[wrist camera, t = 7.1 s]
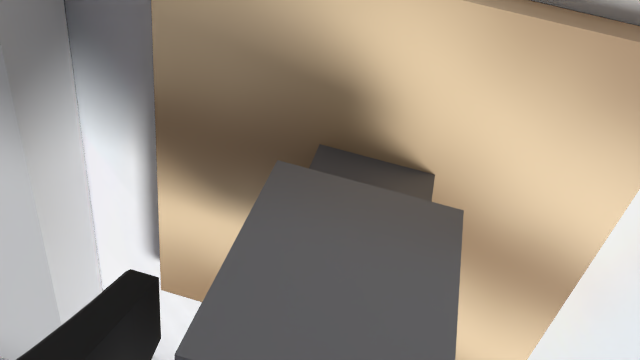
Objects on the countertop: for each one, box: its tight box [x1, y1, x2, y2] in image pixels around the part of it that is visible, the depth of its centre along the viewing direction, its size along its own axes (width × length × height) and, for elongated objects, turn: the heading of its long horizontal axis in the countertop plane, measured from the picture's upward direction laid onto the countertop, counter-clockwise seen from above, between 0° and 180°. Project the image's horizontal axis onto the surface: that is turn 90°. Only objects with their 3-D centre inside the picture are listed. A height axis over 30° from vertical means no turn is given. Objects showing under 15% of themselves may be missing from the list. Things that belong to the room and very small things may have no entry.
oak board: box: [151, 0, 640, 360], centre depth 16 cm, size 12×12×1 cm
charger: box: [175, 144, 464, 360], centre depth 12 cm, size 5×4×8 cm
